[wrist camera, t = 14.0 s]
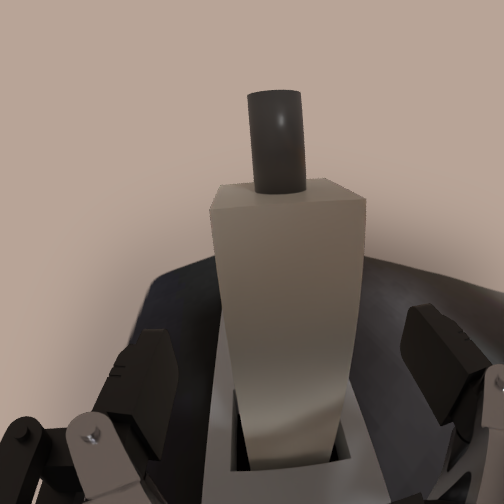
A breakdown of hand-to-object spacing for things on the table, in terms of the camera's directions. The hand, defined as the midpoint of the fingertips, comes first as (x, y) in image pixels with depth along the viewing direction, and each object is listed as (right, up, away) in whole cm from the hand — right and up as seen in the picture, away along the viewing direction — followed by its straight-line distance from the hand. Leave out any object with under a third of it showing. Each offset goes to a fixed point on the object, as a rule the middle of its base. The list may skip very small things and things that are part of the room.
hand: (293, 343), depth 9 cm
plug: (+1, -8, +5) cm, 10 cm away
